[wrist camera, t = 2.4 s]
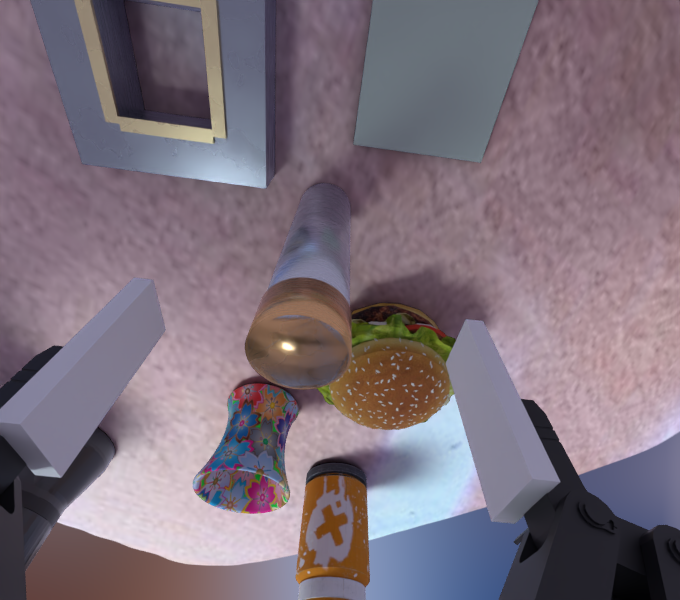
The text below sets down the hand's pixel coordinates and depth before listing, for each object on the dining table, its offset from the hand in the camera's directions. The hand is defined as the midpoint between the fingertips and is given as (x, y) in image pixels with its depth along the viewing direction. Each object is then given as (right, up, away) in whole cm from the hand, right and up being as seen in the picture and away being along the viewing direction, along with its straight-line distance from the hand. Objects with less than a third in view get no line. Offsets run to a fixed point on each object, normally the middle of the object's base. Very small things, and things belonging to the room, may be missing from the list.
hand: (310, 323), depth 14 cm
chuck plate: (-9, +16, +7) cm, 19 cm away
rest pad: (+7, +15, +6) cm, 18 cm away
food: (+6, -4, +20) cm, 22 cm away
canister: (+1, -26, +37) cm, 45 cm away
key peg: (0, +8, +12) cm, 14 cm away
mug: (-9, -12, +27) cm, 31 cm away
